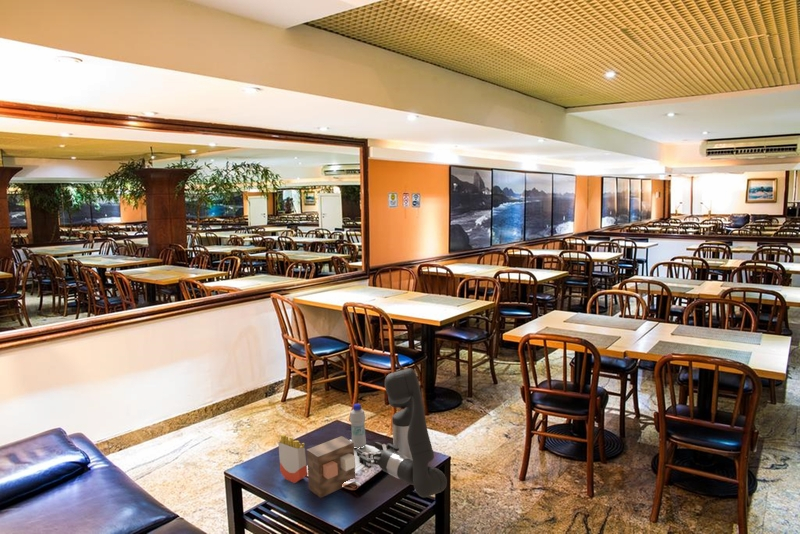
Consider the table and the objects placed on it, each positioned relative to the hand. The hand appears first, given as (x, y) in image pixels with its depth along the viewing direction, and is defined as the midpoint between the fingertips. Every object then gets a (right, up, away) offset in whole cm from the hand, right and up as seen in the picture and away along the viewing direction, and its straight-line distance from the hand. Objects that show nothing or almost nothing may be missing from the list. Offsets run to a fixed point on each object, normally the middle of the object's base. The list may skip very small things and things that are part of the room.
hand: (366, 448), depth 189 cm
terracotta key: (-14, -12, +6) cm, 19 cm away
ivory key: (-8, -11, +11) cm, 18 cm away
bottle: (-6, -15, +44) cm, 47 cm away
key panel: (-14, -19, +13) cm, 27 cm away
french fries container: (-30, -19, +20) cm, 40 cm away
